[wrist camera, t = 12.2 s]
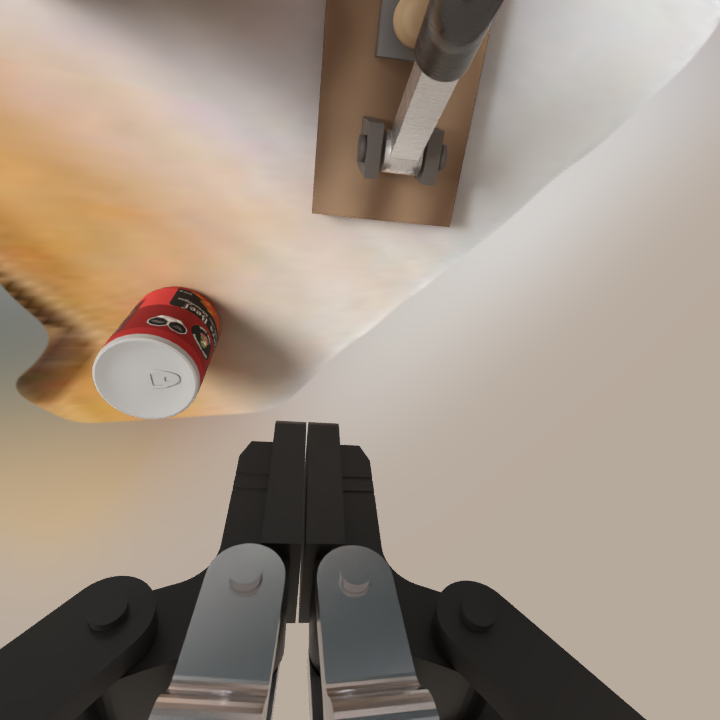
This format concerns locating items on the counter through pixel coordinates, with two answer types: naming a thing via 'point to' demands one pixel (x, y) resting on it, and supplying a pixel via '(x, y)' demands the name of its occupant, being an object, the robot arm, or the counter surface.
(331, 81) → the nutcracker bench
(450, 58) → the lever
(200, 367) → the canned food
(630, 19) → the counter surface
